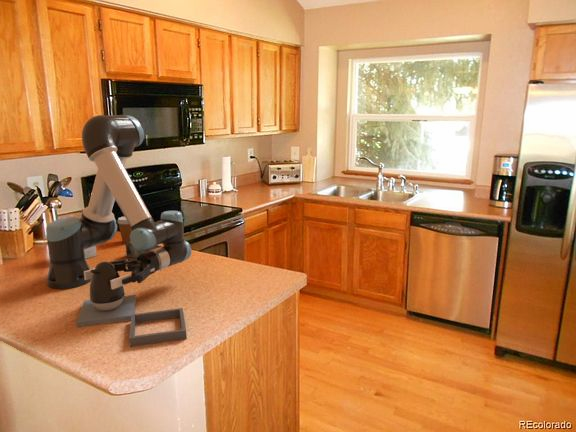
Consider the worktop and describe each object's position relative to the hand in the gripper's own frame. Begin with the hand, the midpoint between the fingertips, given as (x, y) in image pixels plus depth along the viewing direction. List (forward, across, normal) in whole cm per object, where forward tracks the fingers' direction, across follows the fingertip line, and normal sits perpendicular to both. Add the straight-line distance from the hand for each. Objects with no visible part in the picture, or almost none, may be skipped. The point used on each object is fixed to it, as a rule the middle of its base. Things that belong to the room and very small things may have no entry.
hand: (97, 280), depth 134 cm
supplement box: (-30, +58, -12) cm, 66 cm away
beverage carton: (-44, +33, -12) cm, 56 cm away
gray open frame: (-3, -23, -12) cm, 26 cm away
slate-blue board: (-2, 0, -12) cm, 12 cm away
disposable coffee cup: (-56, +60, -12) cm, 83 cm away
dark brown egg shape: (-3, 0, -10) cm, 11 cm away
